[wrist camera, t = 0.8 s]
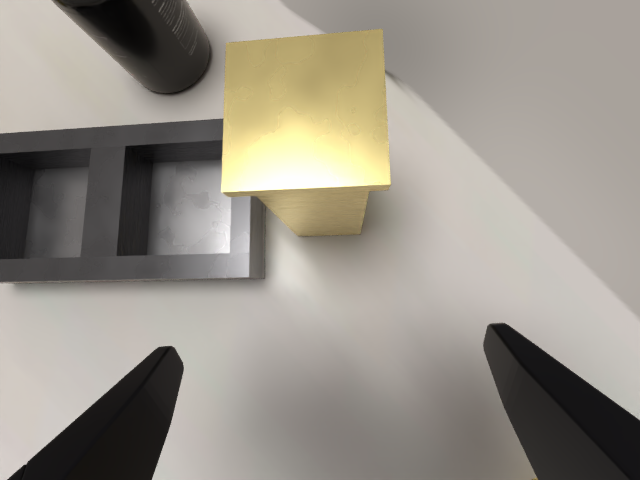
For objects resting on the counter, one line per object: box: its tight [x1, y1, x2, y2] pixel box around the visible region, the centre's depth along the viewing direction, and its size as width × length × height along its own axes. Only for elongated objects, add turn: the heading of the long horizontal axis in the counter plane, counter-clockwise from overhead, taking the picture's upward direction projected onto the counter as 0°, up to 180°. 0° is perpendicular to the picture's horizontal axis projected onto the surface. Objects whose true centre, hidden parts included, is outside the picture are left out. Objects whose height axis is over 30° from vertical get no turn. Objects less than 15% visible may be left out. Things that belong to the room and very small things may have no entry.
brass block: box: [221, 29, 391, 236], centre depth 17 cm, size 6×6×12 cm
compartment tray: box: [0, 119, 265, 283], centre depth 22 cm, size 10×20×4 cm, turn 91°
